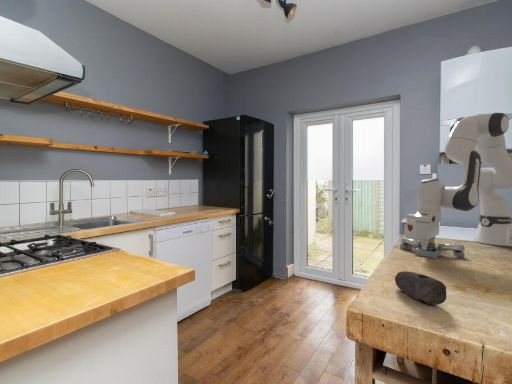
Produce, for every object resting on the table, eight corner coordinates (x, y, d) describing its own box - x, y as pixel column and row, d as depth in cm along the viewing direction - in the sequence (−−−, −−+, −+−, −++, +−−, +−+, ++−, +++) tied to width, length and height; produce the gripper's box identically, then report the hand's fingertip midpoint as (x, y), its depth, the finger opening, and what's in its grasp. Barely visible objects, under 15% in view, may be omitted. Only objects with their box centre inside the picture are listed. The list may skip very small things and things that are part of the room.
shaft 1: (423, 252, 124) (423, 241, 124) (415, 252, 123) (416, 241, 123) (406, 247, 133) (407, 237, 133) (399, 248, 132) (399, 237, 131)
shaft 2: (440, 256, 117) (440, 244, 116) (436, 254, 121) (436, 242, 121) (465, 258, 114) (465, 246, 114) (460, 255, 118) (460, 244, 118)
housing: (420, 251, 125) (420, 246, 125) (440, 254, 120) (440, 249, 120) (414, 254, 120) (415, 249, 120) (435, 258, 114) (435, 252, 114)
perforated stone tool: (388, 288, 82) (389, 265, 82) (403, 286, 84) (404, 264, 83) (431, 311, 68) (432, 283, 68) (448, 308, 69) (449, 281, 69)
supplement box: (405, 242, 143) (405, 214, 143) (418, 241, 146) (419, 213, 145) (420, 246, 135) (421, 216, 134) (434, 245, 137) (435, 215, 137)
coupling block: (423, 251, 123) (424, 239, 123) (435, 253, 120) (435, 241, 120) (420, 253, 120) (420, 241, 120) (432, 255, 117) (432, 243, 116)
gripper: (427, 213, 129) (427, 242, 129) (412, 217, 115) (412, 250, 115) (443, 214, 124) (442, 244, 125) (430, 218, 110) (429, 253, 111)
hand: (428, 247), depth 120 cm, fingers open, 8 cm apart
